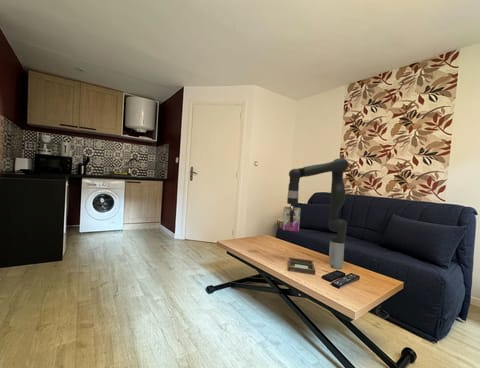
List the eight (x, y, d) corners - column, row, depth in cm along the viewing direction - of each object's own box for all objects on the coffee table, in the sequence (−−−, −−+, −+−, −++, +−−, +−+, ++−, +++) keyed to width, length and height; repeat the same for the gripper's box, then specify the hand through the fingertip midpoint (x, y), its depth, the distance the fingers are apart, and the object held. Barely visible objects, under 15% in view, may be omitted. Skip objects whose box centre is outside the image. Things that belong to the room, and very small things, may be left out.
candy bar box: (281, 230, 160) (283, 206, 160) (283, 229, 164) (284, 206, 165) (298, 232, 156) (299, 208, 156) (299, 231, 160) (300, 207, 161)
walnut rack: (288, 263, 160) (288, 257, 160) (312, 266, 156) (312, 260, 156) (287, 273, 141) (288, 266, 141) (314, 277, 138) (315, 270, 138)
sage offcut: (294, 267, 149) (295, 264, 149) (307, 269, 147) (307, 266, 147) (294, 270, 143) (294, 267, 143) (307, 272, 141) (307, 269, 141)
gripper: (287, 196, 168) (286, 219, 168) (287, 197, 154) (285, 222, 154) (298, 197, 166) (296, 220, 166) (298, 198, 152) (297, 223, 152)
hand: (291, 221), depth 160 cm, fingers closed on candy bar box, 5 cm apart
